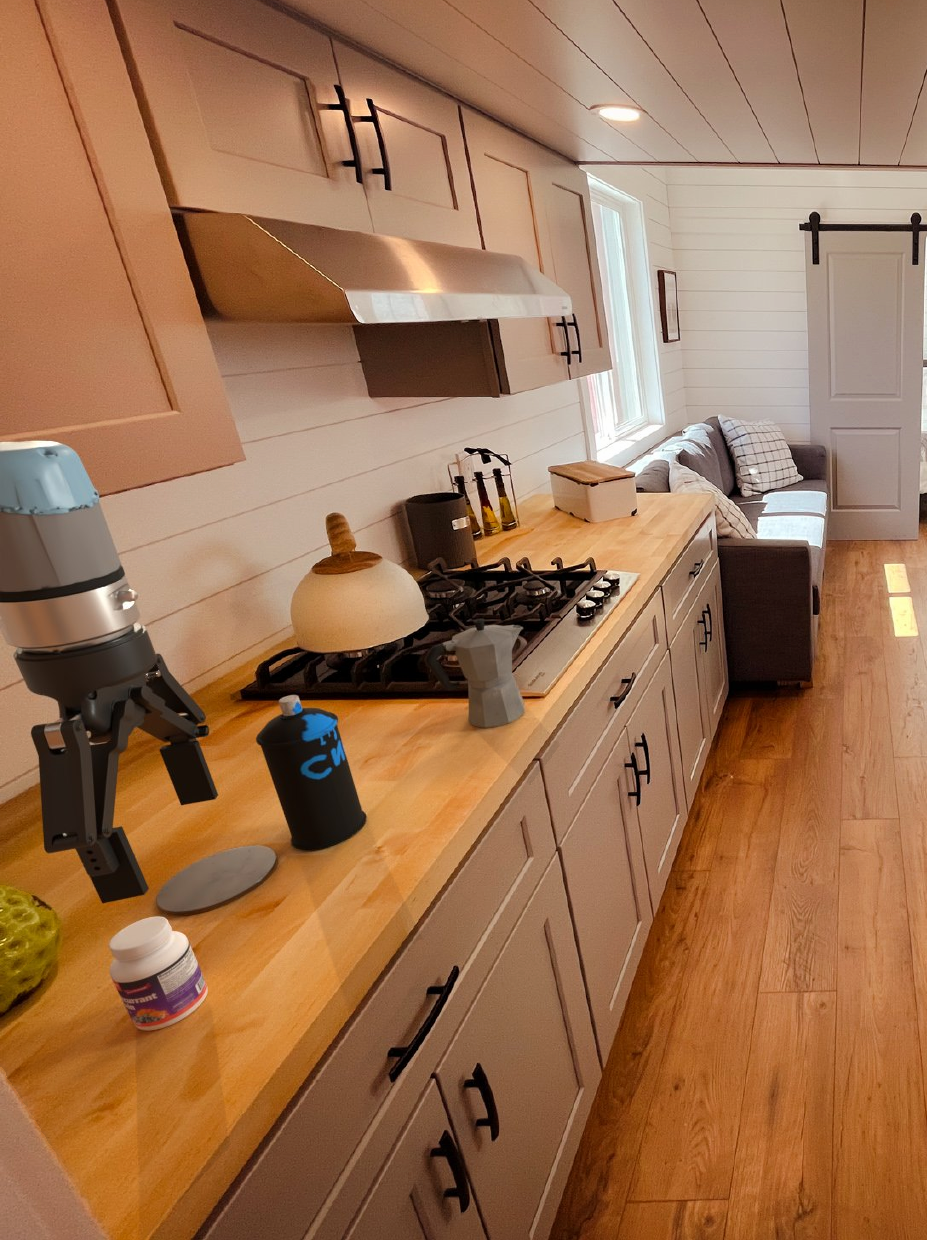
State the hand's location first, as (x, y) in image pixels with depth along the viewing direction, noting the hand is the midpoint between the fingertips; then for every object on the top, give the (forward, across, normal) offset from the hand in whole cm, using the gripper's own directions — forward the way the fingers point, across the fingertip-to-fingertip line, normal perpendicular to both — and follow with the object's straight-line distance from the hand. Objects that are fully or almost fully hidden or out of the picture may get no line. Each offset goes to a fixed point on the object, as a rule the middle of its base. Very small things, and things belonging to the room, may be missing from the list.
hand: (166, 844), depth 65 cm
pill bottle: (+19, 0, +4) cm, 19 cm away
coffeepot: (+19, +50, -20) cm, 57 cm away
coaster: (+18, +19, +7) cm, 28 cm away
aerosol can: (+19, +25, -2) cm, 31 cm away
